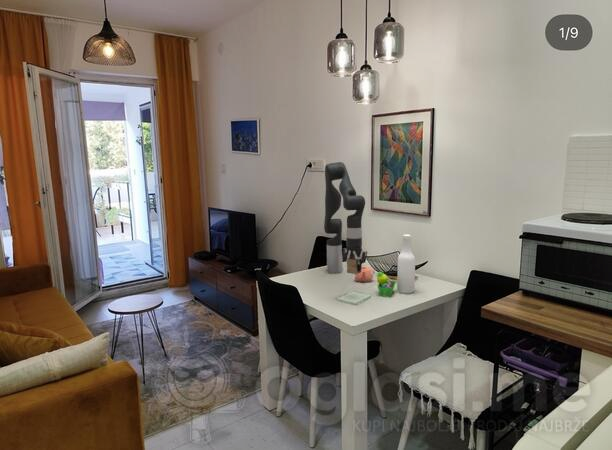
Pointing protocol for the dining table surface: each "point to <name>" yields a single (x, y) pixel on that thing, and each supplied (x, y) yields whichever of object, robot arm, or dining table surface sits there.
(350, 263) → the walnut block
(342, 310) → the dining table surface
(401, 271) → the alcohol
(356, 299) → the sage board
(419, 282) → the dining table surface
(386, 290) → the fruit basket
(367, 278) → the teapot
